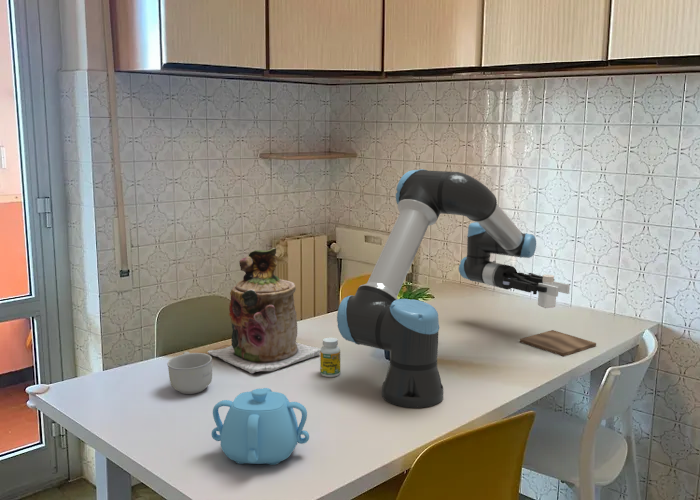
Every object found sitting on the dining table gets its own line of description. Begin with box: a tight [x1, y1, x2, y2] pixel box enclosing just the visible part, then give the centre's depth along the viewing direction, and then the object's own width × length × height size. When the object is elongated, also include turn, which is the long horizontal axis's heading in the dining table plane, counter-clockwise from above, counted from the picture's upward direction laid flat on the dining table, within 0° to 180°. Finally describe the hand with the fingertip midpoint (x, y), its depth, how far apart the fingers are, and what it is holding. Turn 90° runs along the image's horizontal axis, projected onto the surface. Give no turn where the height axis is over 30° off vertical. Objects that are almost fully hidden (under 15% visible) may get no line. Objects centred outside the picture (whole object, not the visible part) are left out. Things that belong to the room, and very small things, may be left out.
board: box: [519, 329, 597, 357], centre depth 209 cm, size 16×16×1 cm
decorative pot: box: [211, 387, 310, 466], centre depth 138 cm, size 16×16×14 cm
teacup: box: [166, 351, 213, 395], centre depth 172 cm, size 14×11×8 cm
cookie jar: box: [207, 247, 321, 374], centre depth 194 cm, size 25×25×32 cm
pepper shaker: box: [537, 273, 557, 309], centre depth 202 cm, size 4×4×10 cm
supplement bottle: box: [319, 337, 341, 378], centre depth 182 cm, size 5×5×10 cm
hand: (562, 290), depth 198 cm, fingers closed on pepper shaker, 5 cm apart
